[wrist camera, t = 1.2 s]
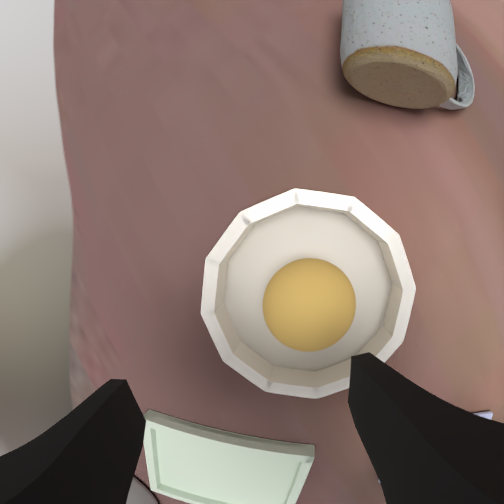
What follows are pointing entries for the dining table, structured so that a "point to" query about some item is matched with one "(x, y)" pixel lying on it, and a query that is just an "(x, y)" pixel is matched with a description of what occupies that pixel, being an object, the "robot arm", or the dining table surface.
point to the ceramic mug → (404, 53)
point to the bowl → (294, 248)
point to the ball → (309, 304)
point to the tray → (222, 464)
